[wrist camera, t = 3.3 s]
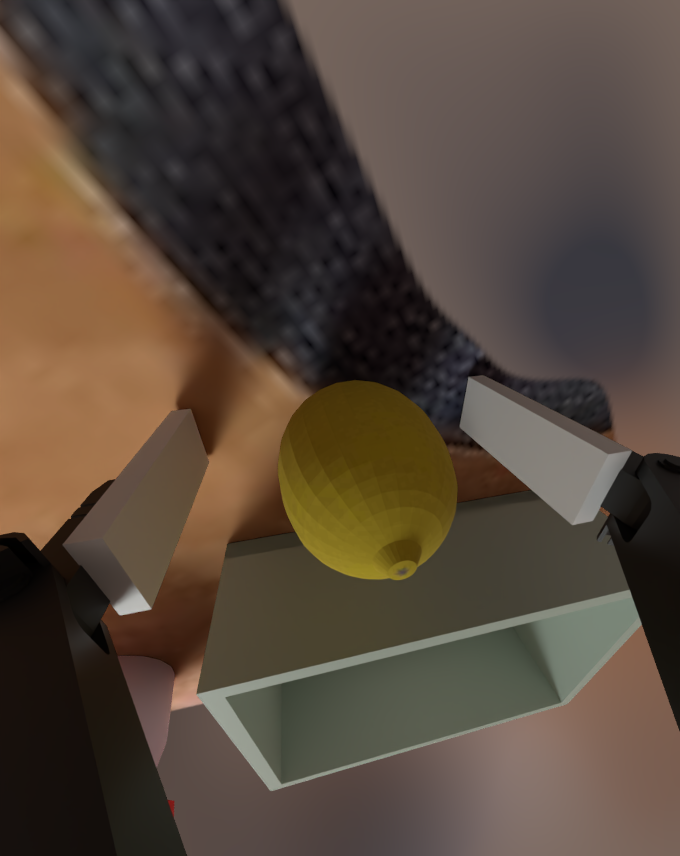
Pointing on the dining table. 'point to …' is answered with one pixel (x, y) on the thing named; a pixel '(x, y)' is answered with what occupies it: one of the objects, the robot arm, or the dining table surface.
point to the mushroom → (151, 699)
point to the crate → (409, 639)
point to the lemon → (366, 480)
